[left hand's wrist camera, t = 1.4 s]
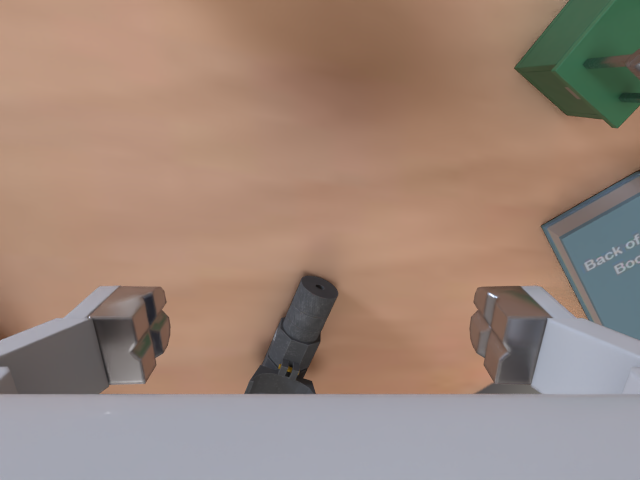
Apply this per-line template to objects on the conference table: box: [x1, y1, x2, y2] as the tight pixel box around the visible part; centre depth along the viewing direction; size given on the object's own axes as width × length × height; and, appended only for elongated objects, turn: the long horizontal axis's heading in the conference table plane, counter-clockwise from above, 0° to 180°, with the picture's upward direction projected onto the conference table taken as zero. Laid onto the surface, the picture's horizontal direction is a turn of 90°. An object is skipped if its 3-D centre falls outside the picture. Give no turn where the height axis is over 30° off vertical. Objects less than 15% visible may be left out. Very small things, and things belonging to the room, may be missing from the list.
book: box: [541, 171, 640, 340], centre depth 54 cm, size 23×16×5 cm
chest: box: [514, 0, 611, 119], centre depth 42 cm, size 13×10×9 cm
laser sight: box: [244, 276, 338, 394], centre depth 56 cm, size 10×22×10 cm, turn 158°
